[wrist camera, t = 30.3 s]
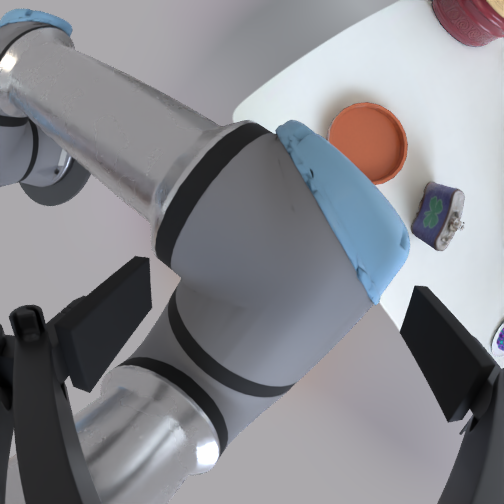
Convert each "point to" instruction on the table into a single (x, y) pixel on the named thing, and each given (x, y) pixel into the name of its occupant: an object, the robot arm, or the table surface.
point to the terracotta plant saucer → (370, 140)
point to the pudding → (498, 342)
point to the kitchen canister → (471, 19)
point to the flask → (438, 215)
